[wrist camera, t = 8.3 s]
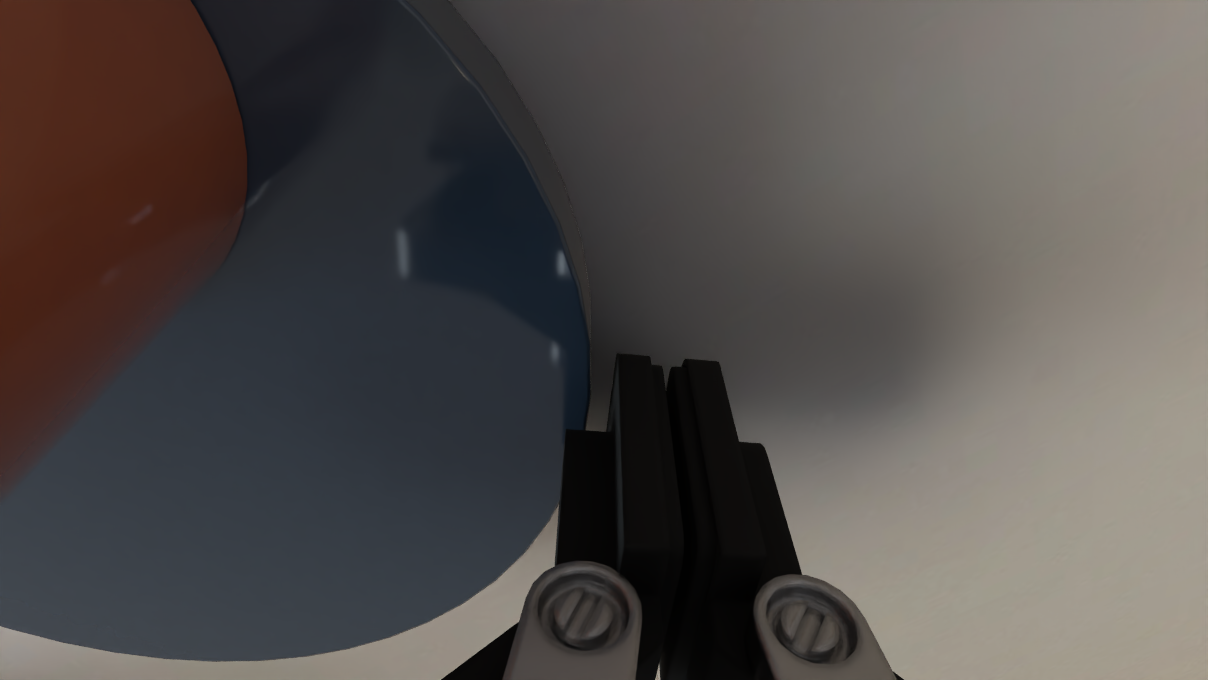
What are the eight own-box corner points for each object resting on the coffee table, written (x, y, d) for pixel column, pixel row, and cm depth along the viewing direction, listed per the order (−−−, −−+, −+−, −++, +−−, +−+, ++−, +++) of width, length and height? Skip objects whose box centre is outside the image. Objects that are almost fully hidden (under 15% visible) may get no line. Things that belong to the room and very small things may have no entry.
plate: (-796, -444, 7) (-1136, -522, 5) (694, -91, 9) (713, -85, 7) (-169, 556, 15) (-243, 623, 14) (528, 628, 17) (523, 693, 15)
